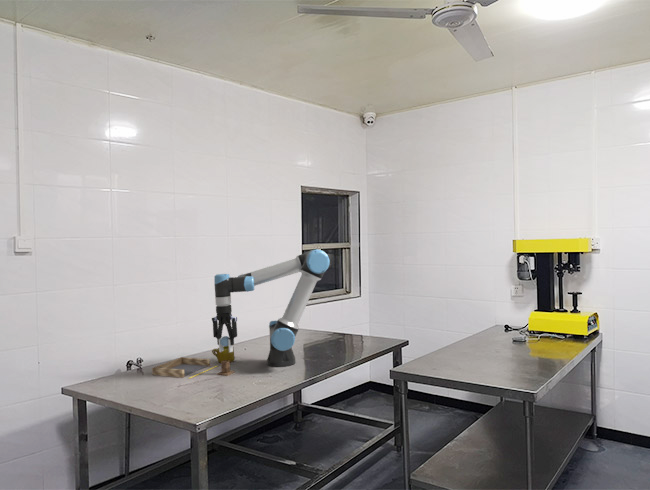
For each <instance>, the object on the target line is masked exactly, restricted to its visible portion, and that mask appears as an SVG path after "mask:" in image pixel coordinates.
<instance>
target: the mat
mask: <svg viewBox="0 0 650 490" xmlns="http://www.w3.org/2000/svg"><path fill="white" fill-rule="evenodd" d="M207 367H208V366H204V365H191V364H180V365H178V366H175V367H173V368H170V369H182V370H184V376H185V377H186V376H188V375H190V374H193V373H195V372H197V371H200V370H202V369H204V368H207Z"/></svg>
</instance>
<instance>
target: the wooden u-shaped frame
mask: <svg viewBox="0 0 650 490" xmlns="http://www.w3.org/2000/svg"><path fill="white" fill-rule="evenodd" d="M180 364H191V365H204V366H207V367H210V366H211V361H210V358H196V357H195V358H194V357H183V356H181V357H179V358H176V359H173V360H170V361H167V362H165V363H162V364H159V365H157V366H154V367H152V368H151V369H152V371H151V372H152V375H153V376H161V377H171V378H172V377H173V378H184V377H186V376H184V370H182V369H170V368H173V367H175V366H178V365H180Z"/></svg>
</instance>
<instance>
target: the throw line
mask: <svg viewBox="0 0 650 490" xmlns="http://www.w3.org/2000/svg"><path fill="white" fill-rule="evenodd" d="M217 367H218V365H215V366H212V367H211V368H208V369H206V370H204V371H201V372H199V373H197V374H194V375H192V376H190V377H188V379H192V378H194V377H197V376H199V375H202V374H204V373H206V372H208V371H210V370H213V369H215V368H217Z"/></svg>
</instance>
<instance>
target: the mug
mask: <svg viewBox="0 0 650 490" xmlns="http://www.w3.org/2000/svg"><path fill="white" fill-rule="evenodd" d="M223 350H224V351H222V352H219V347H218V348H213V349H212V350H211V353H212V354H213V356H215V357H216V359H217V360H218V363H219V364H221V361H224V360H226V361H228V360H230V363H233V362H235V349H234V346H233V352H229V345H228V346H223Z"/></svg>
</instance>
